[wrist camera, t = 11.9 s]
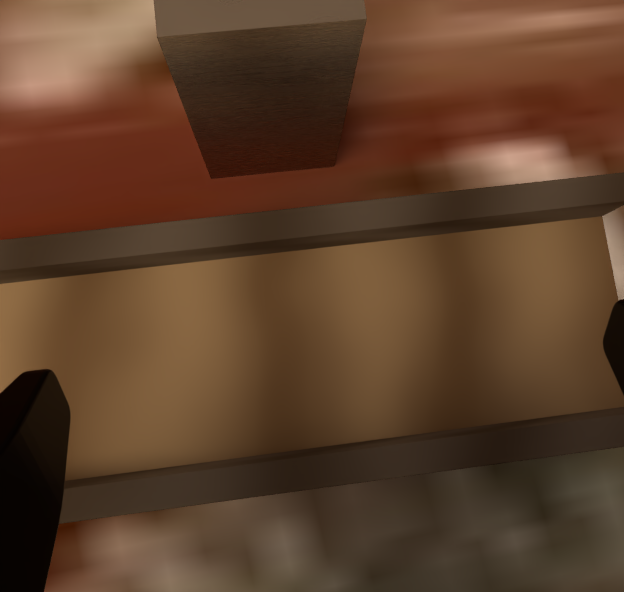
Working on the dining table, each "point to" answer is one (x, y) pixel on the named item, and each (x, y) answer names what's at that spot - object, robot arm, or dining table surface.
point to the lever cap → (263, 78)
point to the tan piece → (320, 342)
